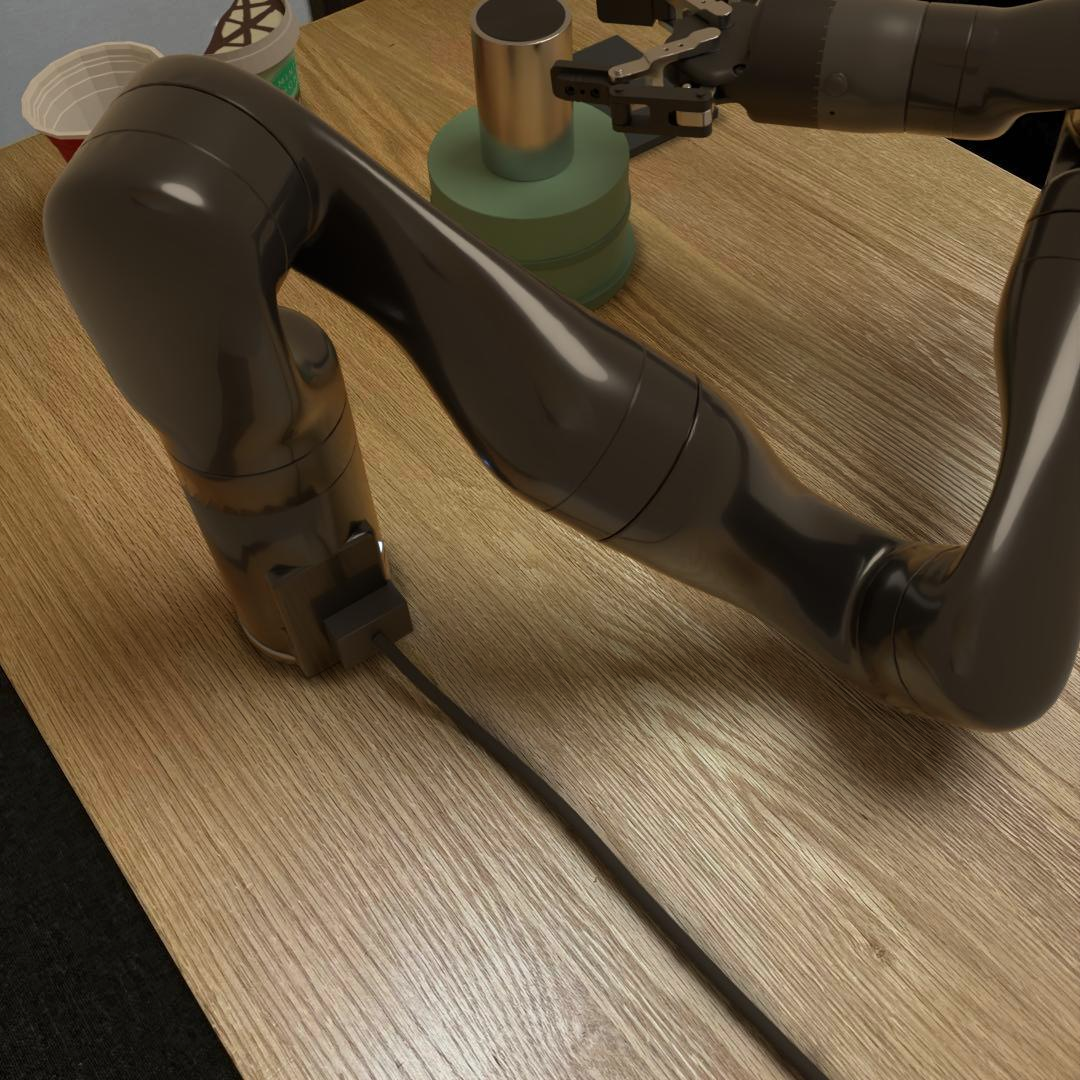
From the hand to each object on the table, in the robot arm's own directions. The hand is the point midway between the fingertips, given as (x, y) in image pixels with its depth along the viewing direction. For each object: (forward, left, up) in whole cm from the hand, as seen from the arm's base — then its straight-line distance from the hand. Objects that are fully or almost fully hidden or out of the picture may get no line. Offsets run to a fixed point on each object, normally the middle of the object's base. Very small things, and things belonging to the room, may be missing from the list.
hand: (576, 39), depth 74 cm
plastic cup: (+25, +24, -18) cm, 39 cm away
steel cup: (+3, +2, -9) cm, 10 cm away
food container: (+29, +10, -18) cm, 36 cm away
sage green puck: (+3, +2, -18) cm, 18 cm away
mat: (+15, -14, -18) cm, 27 cm away
